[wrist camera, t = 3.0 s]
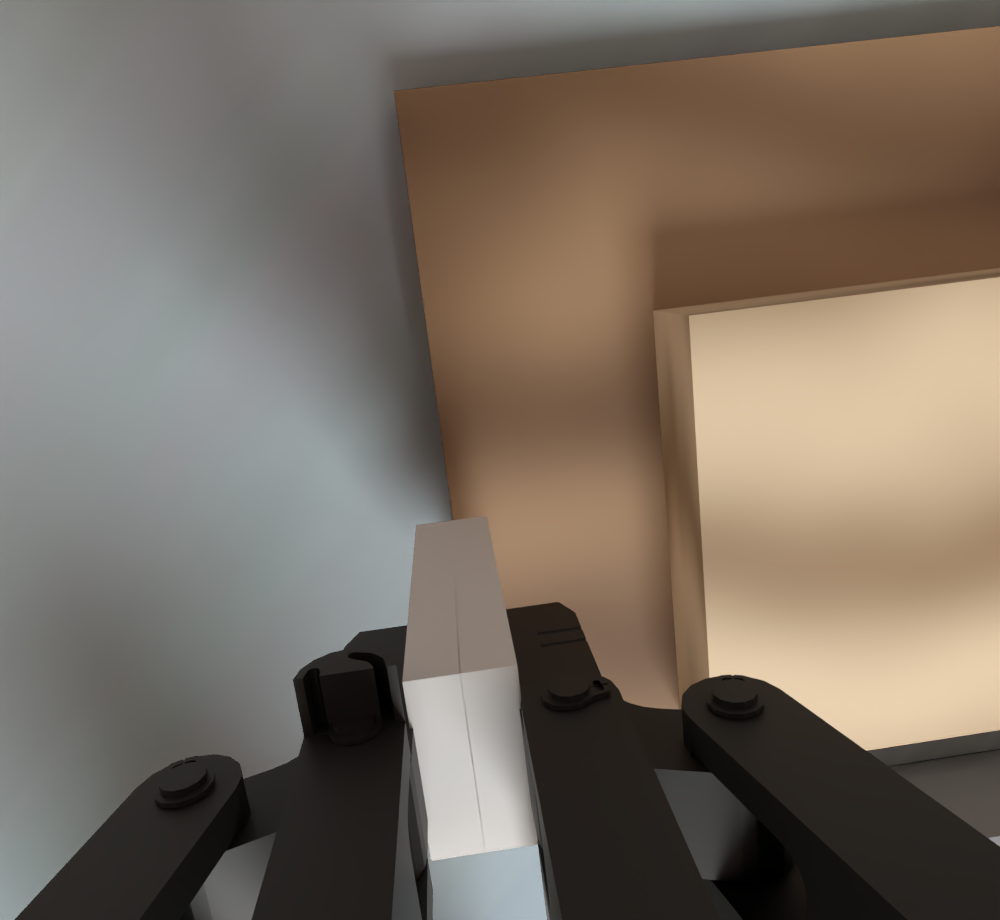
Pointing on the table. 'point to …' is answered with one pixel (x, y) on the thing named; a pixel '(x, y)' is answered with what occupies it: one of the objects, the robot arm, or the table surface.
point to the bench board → (661, 274)
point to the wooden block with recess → (840, 500)
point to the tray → (962, 787)
